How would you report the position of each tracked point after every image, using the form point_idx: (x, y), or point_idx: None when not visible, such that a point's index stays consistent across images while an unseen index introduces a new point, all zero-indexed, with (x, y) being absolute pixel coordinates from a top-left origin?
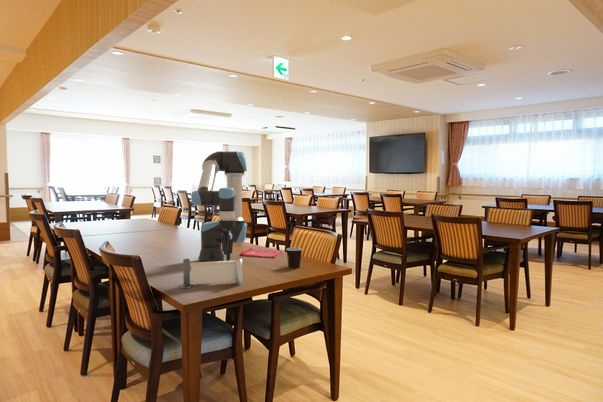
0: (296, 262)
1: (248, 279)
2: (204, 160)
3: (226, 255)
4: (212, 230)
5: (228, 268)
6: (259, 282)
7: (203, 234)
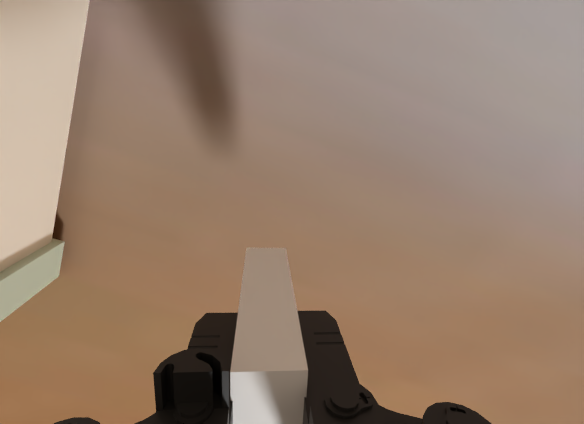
0: None
1: (133, 361)
2: None
3: (229, 379)
4: None
5: None
6: (2, 402)
7: None
